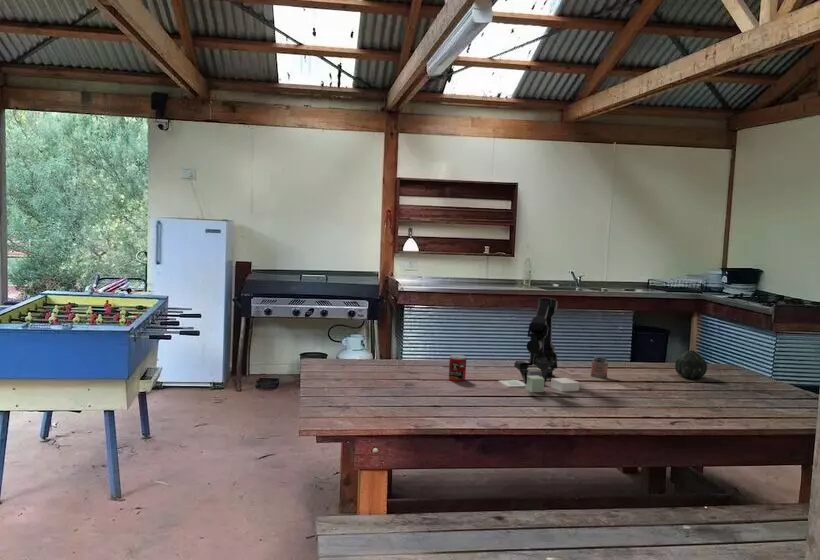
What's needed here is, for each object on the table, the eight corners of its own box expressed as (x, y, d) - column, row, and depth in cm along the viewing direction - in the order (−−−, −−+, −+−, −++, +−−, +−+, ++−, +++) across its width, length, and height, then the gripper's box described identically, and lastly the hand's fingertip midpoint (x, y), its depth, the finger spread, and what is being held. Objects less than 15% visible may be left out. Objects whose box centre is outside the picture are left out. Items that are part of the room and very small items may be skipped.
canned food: (446, 380, 297) (447, 356, 296) (451, 376, 304) (452, 353, 303) (462, 382, 294) (463, 358, 293) (467, 378, 301) (468, 355, 300)
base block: (550, 386, 294) (551, 378, 294) (567, 386, 297) (568, 377, 297) (561, 392, 286) (562, 383, 285) (578, 391, 289) (579, 382, 288)
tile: (498, 381, 298) (498, 380, 298) (517, 381, 301) (518, 379, 301) (508, 387, 288) (508, 385, 288) (528, 386, 291) (528, 385, 291)
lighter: (589, 376, 318) (591, 356, 317) (591, 375, 321) (592, 355, 320) (606, 378, 314) (607, 358, 313) (607, 377, 317) (609, 357, 316)
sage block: (525, 388, 288) (525, 375, 287) (537, 388, 289) (537, 375, 289) (531, 392, 282) (532, 379, 281) (543, 391, 284) (544, 378, 283)
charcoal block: (523, 381, 302) (524, 368, 301) (535, 380, 304) (535, 368, 303) (529, 384, 296) (530, 371, 296) (541, 384, 298) (542, 371, 297)
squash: (695, 362, 336) (682, 342, 331) (717, 370, 321) (704, 349, 317) (677, 381, 333) (663, 360, 329) (698, 389, 319) (684, 368, 315)
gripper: (526, 353, 274) (524, 389, 275) (565, 352, 279) (562, 387, 281) (514, 348, 284) (512, 382, 286) (552, 347, 290) (549, 381, 291)
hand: (534, 383), depth 286 cm, fingers open, 9 cm apart
